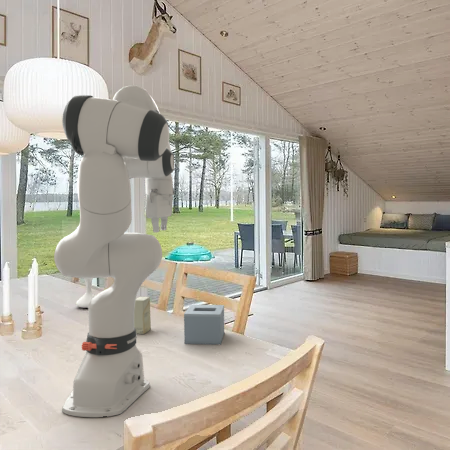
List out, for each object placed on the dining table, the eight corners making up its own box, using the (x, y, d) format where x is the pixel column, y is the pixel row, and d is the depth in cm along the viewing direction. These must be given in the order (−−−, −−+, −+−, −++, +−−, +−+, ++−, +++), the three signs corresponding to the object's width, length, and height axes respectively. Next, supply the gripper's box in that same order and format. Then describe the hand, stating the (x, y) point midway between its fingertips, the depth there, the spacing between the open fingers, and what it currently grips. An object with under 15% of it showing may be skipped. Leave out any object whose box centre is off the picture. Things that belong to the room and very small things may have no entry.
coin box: (220, 344, 133) (220, 314, 133) (184, 343, 134) (184, 313, 134) (224, 332, 145) (224, 305, 145) (191, 332, 146) (190, 304, 146)
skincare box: (144, 334, 144) (143, 300, 144) (132, 333, 145) (131, 300, 145) (151, 329, 151) (150, 296, 150) (139, 328, 152) (139, 296, 151)
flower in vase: (81, 303, 191) (80, 250, 190) (105, 303, 190) (104, 250, 189) (70, 310, 178) (68, 253, 177) (95, 310, 177) (94, 253, 176)
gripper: (160, 188, 124) (161, 233, 124) (175, 190, 144) (176, 229, 145) (140, 188, 124) (141, 233, 125) (157, 190, 145) (158, 229, 145)
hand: (160, 231), depth 135 cm, fingers open, 8 cm apart
